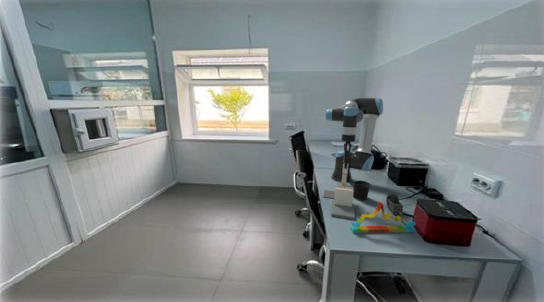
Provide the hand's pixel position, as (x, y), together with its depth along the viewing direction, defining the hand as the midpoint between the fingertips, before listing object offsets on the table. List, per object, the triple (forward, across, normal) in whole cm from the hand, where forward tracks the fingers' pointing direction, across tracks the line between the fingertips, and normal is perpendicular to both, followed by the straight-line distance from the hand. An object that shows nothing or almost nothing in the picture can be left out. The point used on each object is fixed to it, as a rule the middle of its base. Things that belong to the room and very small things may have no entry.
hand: (344, 172), depth 126 cm
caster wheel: (+19, +5, +28) cm, 34 cm away
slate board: (+19, +13, 0) cm, 23 cm away
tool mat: (+19, -6, -7) cm, 21 cm away
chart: (+19, +26, +18) cm, 37 cm away
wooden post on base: (+9, 0, 0) cm, 9 cm away
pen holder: (+19, -8, +11) cm, 23 cm away
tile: (+17, +9, 0) cm, 19 cm away
